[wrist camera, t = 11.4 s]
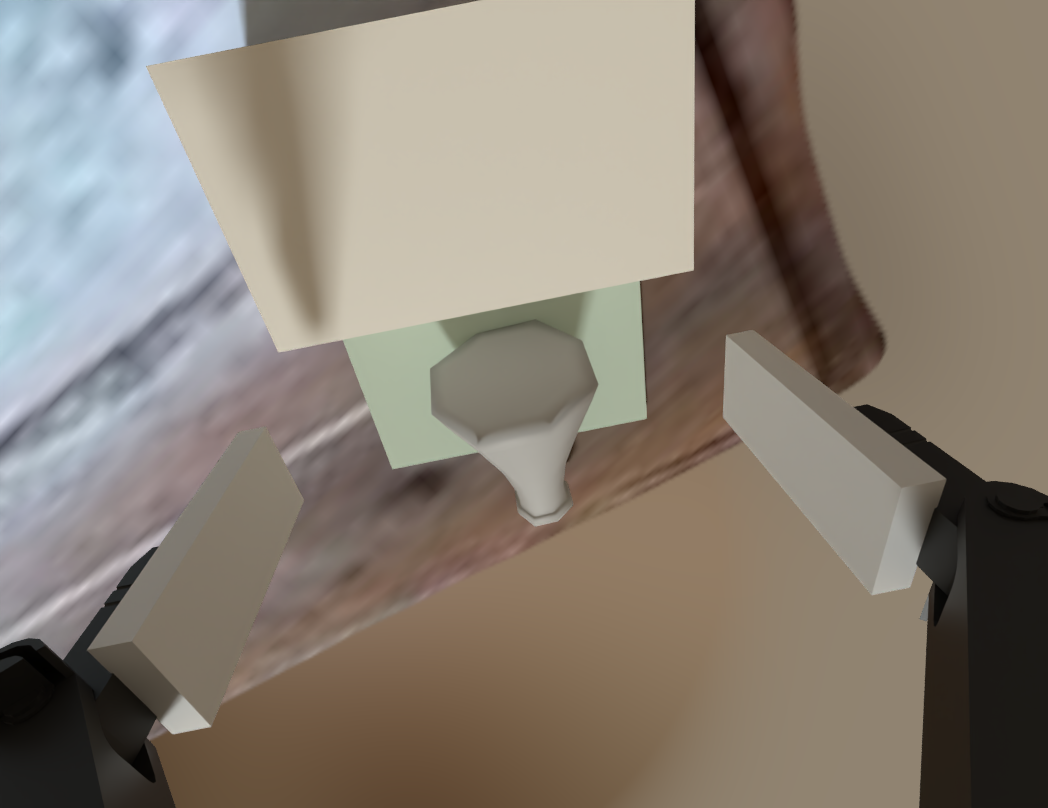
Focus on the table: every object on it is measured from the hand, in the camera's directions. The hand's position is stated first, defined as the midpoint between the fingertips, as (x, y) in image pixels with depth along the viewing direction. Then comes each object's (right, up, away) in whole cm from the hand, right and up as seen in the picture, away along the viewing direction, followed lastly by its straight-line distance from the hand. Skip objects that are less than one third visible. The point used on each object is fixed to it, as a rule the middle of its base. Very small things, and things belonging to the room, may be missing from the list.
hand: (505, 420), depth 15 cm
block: (-2, +10, +6) cm, 12 cm away
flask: (0, +2, +7) cm, 7 cm away
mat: (-1, +3, +11) cm, 11 cm away
